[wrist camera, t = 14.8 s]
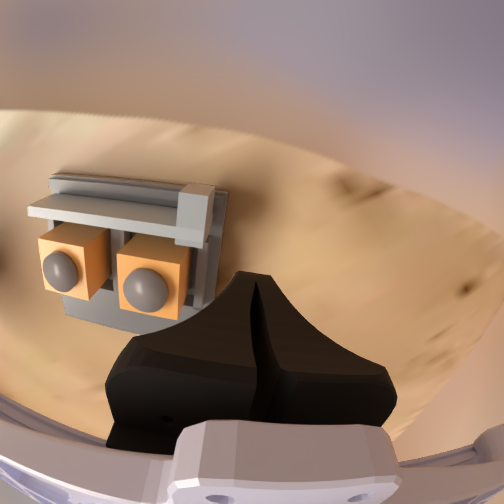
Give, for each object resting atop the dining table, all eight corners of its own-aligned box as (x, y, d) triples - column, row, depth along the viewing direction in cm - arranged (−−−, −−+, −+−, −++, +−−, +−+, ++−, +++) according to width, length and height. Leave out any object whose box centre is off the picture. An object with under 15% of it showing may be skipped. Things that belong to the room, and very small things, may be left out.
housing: (228, 191, 20) (225, 199, 18) (209, 341, 25) (206, 359, 23) (56, 172, 19) (39, 178, 17) (69, 310, 24) (57, 323, 22)
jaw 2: (193, 239, 20) (177, 268, 16) (189, 289, 22) (175, 325, 18) (139, 230, 20) (112, 257, 16) (139, 280, 22) (116, 313, 18)
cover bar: (217, 184, 19) (208, 196, 15) (211, 228, 20) (202, 248, 17) (55, 168, 18) (26, 177, 15) (55, 206, 19) (28, 220, 16)
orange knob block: (110, 226, 20) (78, 251, 16) (111, 274, 22) (85, 305, 18) (67, 220, 20) (32, 241, 16) (71, 265, 22) (41, 293, 17)
